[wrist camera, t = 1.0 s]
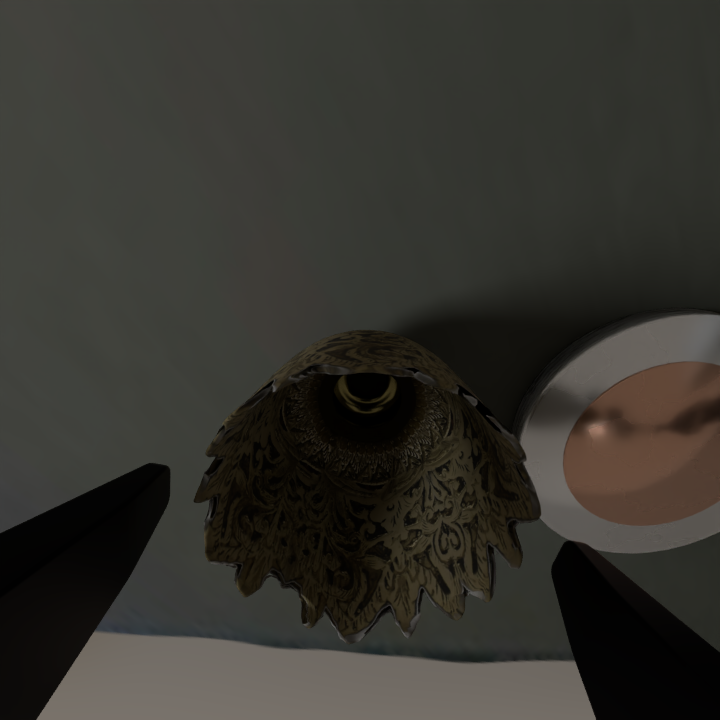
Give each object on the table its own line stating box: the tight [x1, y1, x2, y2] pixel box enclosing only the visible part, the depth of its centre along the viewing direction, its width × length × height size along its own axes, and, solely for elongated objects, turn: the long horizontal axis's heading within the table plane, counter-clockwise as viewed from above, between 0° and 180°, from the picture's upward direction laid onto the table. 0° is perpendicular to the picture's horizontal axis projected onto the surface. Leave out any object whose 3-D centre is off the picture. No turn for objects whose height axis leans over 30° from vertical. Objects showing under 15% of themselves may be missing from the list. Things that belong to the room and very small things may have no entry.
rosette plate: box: [511, 308, 720, 553], centre depth 15 cm, size 11×11×1 cm
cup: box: [194, 330, 541, 644], centre depth 12 cm, size 8×7×8 cm
